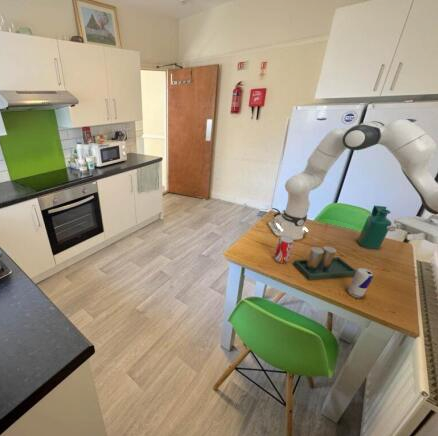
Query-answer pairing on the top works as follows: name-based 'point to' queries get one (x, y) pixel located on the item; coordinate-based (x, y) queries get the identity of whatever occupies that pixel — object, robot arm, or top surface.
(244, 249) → the top surface
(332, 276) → the drinks tray
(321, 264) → the matching cans
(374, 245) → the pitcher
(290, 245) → the soda can
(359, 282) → the energy drink
